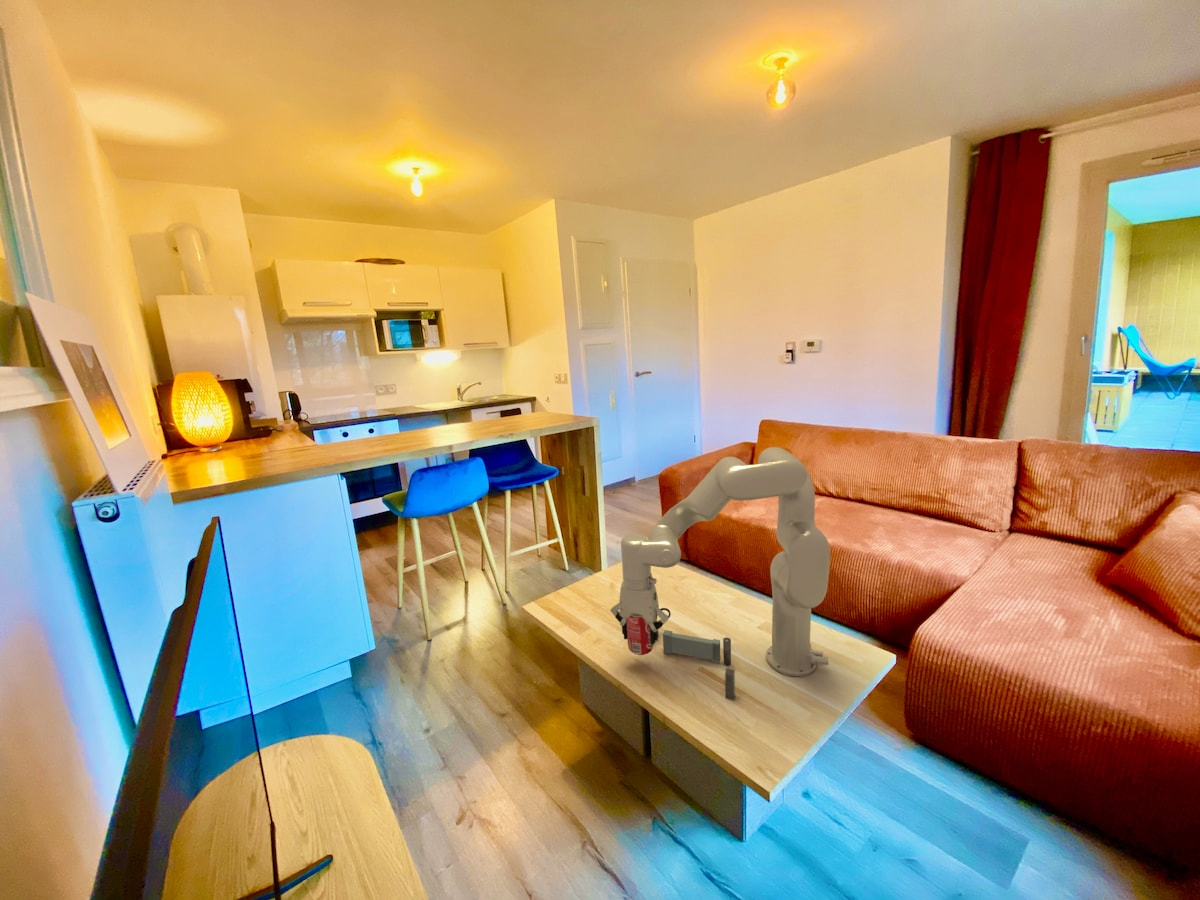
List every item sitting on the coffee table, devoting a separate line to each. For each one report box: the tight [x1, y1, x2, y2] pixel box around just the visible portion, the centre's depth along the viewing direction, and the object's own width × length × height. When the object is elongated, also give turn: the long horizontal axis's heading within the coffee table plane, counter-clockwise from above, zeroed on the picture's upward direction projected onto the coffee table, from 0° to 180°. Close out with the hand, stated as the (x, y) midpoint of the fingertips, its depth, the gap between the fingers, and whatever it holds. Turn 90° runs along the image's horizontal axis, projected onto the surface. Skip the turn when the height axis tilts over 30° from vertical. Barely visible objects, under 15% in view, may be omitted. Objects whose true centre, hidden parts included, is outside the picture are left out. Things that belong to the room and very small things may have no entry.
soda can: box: [626, 614, 654, 656], centre depth 128 cm, size 7×7×12 cm
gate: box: [662, 629, 721, 664], centre depth 132 cm, size 16×2×6 cm, turn 67°
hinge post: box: [722, 636, 732, 667], centre depth 128 cm, size 2×2×8 cm
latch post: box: [724, 668, 736, 701], centre depth 117 cm, size 2×2×7 cm
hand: (640, 638), depth 128 cm, fingers closed on soda can, 7 cm apart
